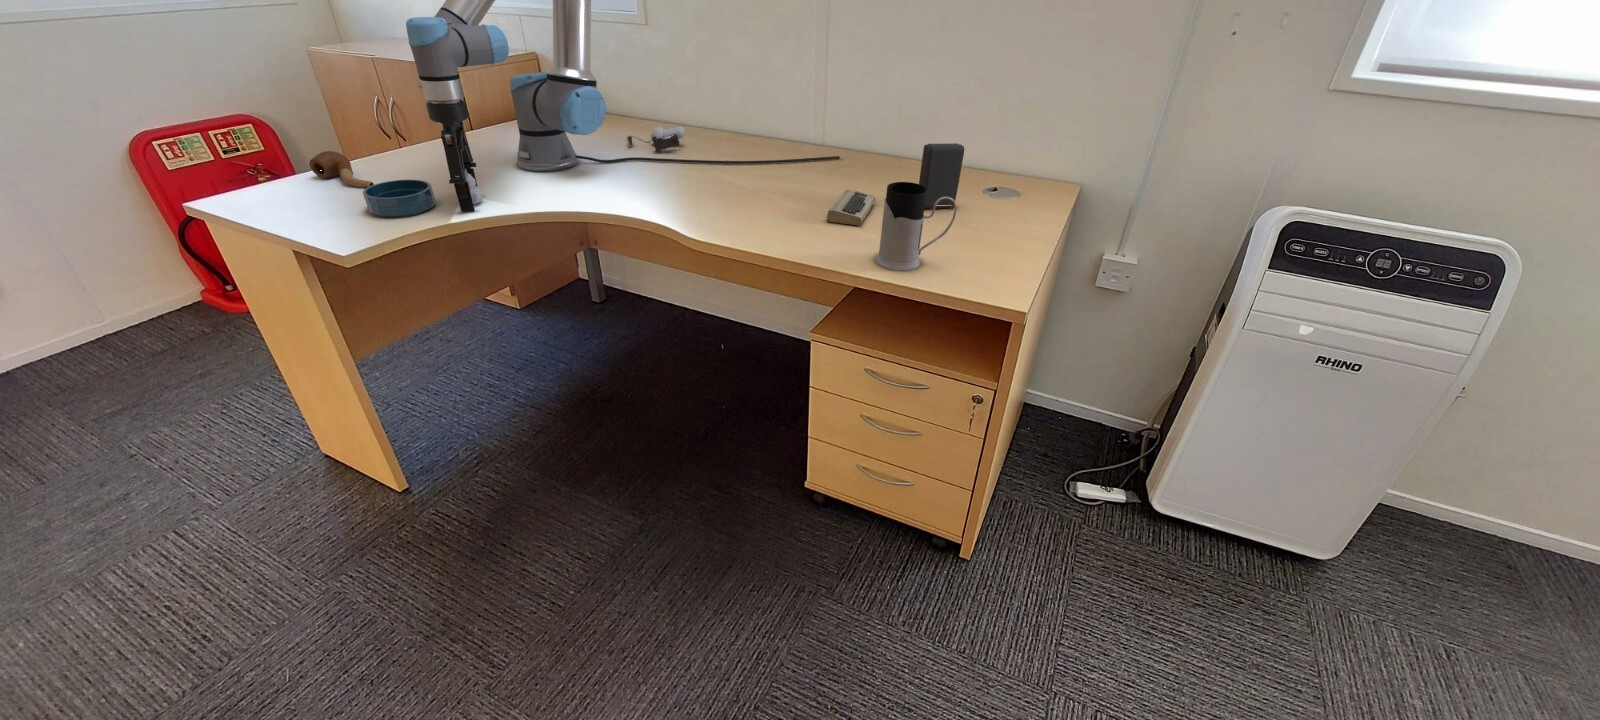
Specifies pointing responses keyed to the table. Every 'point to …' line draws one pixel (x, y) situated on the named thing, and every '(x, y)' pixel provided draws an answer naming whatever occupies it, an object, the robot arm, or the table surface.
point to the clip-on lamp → (663, 138)
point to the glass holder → (904, 226)
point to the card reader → (941, 173)
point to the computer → (851, 207)
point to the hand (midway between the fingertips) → (470, 203)
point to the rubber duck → (473, 189)
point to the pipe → (335, 168)
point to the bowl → (399, 198)
